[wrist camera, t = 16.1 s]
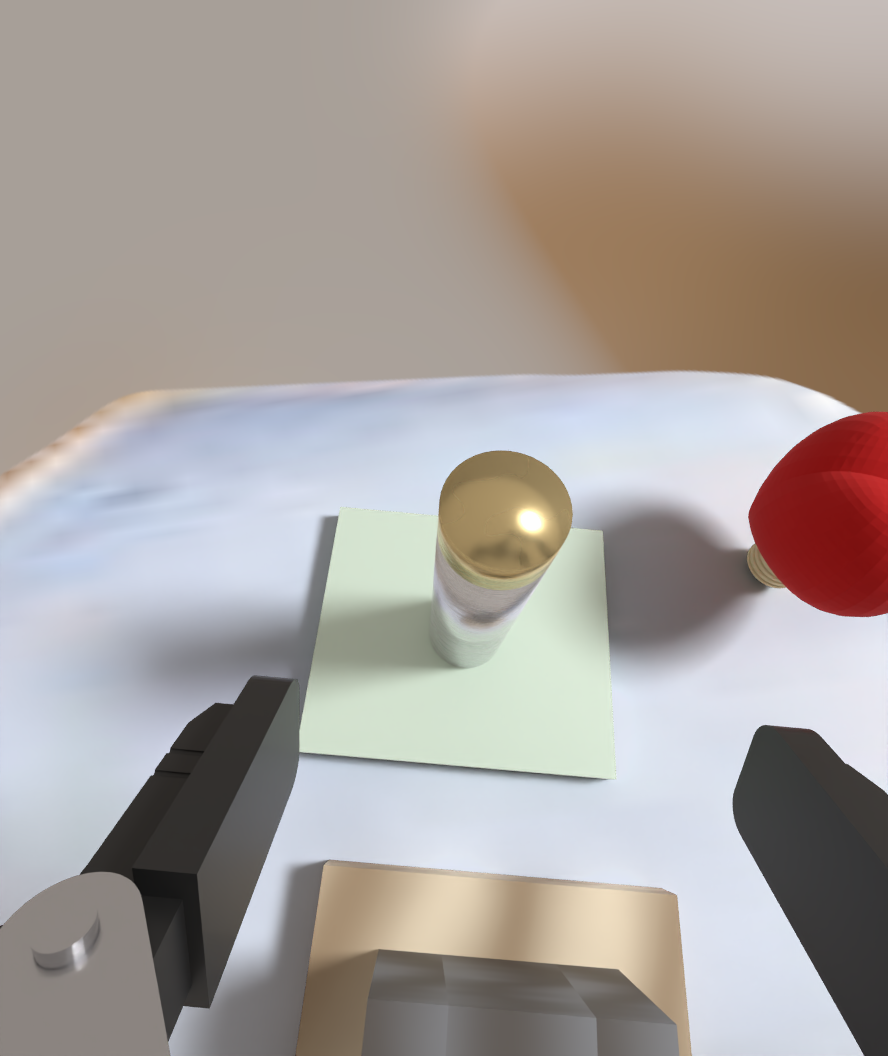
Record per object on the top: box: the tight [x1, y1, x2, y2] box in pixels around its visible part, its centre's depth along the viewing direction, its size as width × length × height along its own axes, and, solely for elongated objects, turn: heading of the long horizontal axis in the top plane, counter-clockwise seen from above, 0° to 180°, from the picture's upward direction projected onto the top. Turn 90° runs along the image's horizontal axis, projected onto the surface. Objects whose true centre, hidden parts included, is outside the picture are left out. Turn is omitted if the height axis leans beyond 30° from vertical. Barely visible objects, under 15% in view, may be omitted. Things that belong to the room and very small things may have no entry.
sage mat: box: [299, 507, 616, 779], centre depth 26 cm, size 14×12×1 cm
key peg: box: [429, 451, 573, 668], centre depth 20 cm, size 4×4×13 cm
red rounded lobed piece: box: [747, 412, 888, 617], centre depth 24 cm, size 9×7×10 cm
